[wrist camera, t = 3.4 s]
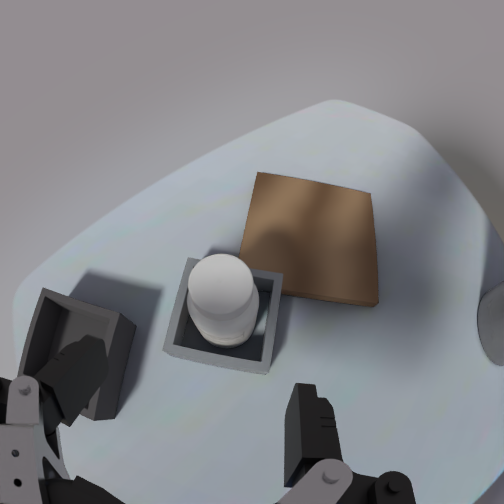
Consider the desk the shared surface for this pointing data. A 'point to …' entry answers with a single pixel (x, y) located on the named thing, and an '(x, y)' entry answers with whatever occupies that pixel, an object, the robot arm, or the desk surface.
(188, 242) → the desk surface
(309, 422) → the robot arm
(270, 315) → the sleeve
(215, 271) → the pill bottle
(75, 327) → the box
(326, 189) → the walnut pad
